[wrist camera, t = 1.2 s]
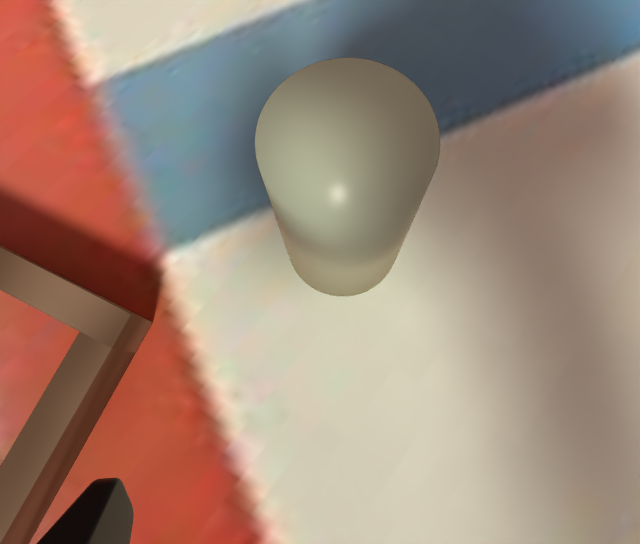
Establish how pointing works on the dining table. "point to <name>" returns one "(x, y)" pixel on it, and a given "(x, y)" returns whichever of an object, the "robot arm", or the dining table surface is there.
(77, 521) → the robot arm
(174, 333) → the dining table surface
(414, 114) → the pale green cylinder
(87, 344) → the collar
